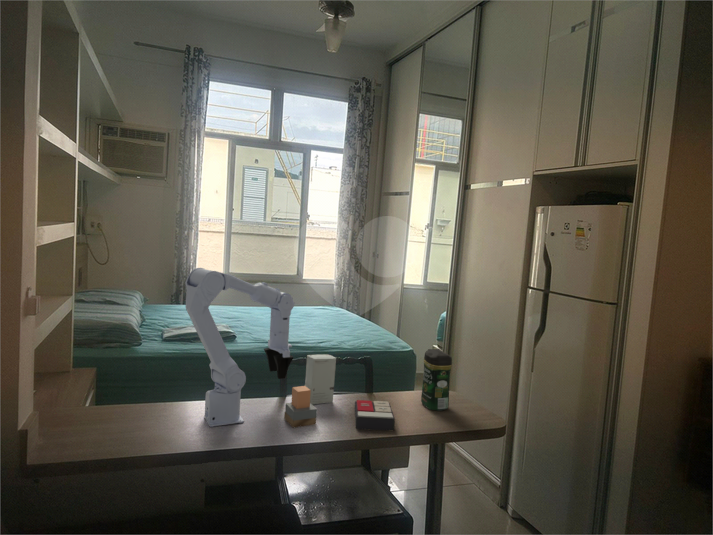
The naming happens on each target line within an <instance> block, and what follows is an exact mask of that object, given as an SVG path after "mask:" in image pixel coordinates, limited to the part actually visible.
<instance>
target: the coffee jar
mask: <svg viewBox="0 0 713 535" xmlns="http://www.w3.org/2000/svg"><path fill="white" fill-rule="evenodd" d="M452 361H453V360H452V356H451V355H449V354H448V353H446V352H444V351H443V350H441V349H438V348H429V349H427V350H426V351H425V352H424V357H423V375H422V376H423V377H422V385H421V386H422V388H421V399H420V402H421V404H422V405H423V406H424V407H425V408H427V409H429V410H430V411H431V410H433V411H437V412H439V411H440V412H441V411H442V412H443V411H445V410H448V408H449V405H450V402H449V400H450V380H451V379H450V378H451V371H452V370H451V369H452V364H453V362H452Z"/></svg>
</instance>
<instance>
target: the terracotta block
mask: <svg viewBox="0 0 713 535" xmlns="http://www.w3.org/2000/svg"><path fill="white" fill-rule="evenodd" d="M310 394H311V390H310V389H309V388H307V387H306V386H305V385H301V386H293V387H292V388H291V402H290V403H291V404H292V405H293V406H294V407H295V408H296V409H300V408H307V407H310Z"/></svg>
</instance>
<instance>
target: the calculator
mask: <svg viewBox="0 0 713 535" xmlns="http://www.w3.org/2000/svg"><path fill="white" fill-rule="evenodd" d="M392 409H393V408H392V406H391V404H390V402H389V401H385V400H383V401H381V400H373V401H372V400H363V399H356V401H355V402H354V420H355V421H354V422H355V429H356V430H368V429H370V430H372V431H389V430H394V431H395V422H396V421H395V420H396V419H395V415H394V412H393V410H392Z"/></svg>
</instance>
